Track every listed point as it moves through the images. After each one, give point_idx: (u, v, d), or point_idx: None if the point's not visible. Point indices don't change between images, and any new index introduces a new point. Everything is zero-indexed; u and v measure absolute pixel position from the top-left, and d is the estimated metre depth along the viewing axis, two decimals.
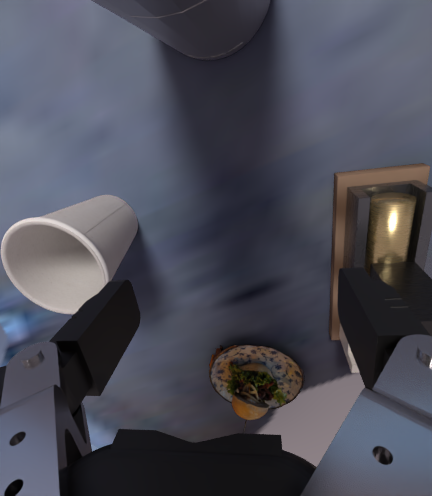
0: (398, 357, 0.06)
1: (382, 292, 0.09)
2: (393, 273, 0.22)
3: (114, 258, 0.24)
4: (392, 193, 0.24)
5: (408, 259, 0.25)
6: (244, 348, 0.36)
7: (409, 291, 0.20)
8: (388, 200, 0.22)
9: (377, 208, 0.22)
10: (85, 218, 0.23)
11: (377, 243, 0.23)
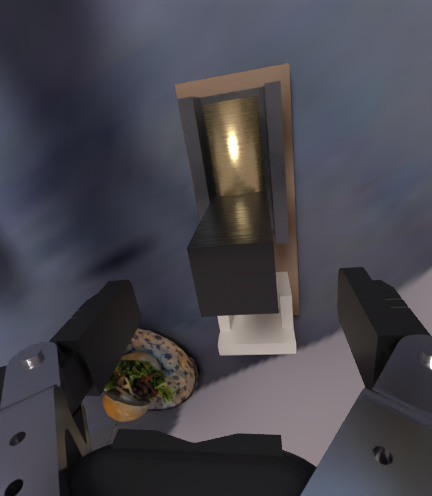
0: (398, 357, 0.06)
1: (382, 292, 0.09)
2: (227, 203, 0.16)
3: None
4: None
5: None
6: None
7: (226, 217, 0.14)
8: None
9: (206, 113, 0.16)
10: None
11: (216, 167, 0.17)
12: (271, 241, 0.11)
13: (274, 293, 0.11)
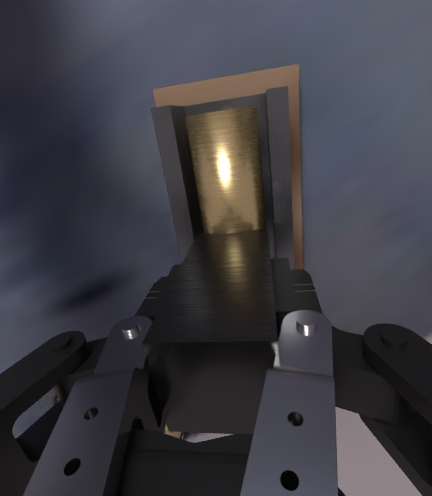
0: (285, 334, 0.07)
1: (299, 279, 0.10)
2: (215, 247, 0.12)
3: None
4: None
5: (274, 231, 0.14)
6: None
7: (210, 276, 0.10)
8: None
9: (188, 127, 0.12)
10: None
11: (202, 196, 0.13)
12: (274, 340, 0.07)
13: None
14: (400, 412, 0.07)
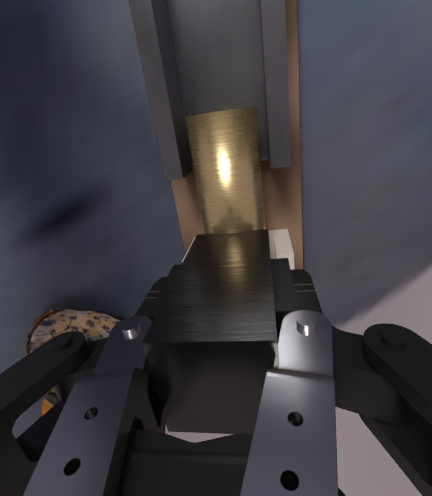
0: (285, 334, 0.07)
1: (299, 279, 0.10)
2: (215, 247, 0.12)
3: None
4: None
5: (265, 93, 0.12)
6: (75, 318, 0.23)
7: (210, 276, 0.10)
8: None
9: (188, 127, 0.12)
10: None
11: (202, 197, 0.13)
12: (274, 340, 0.07)
13: None
14: (400, 412, 0.07)
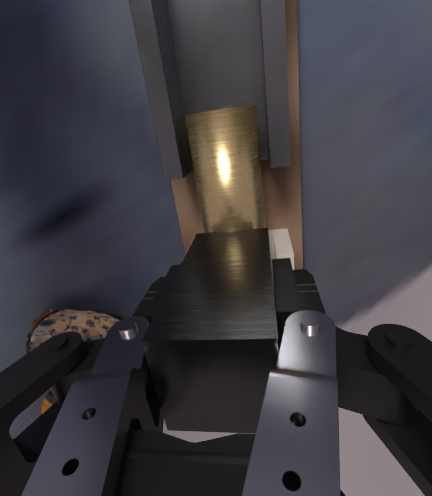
0: (288, 334, 0.07)
1: (301, 279, 0.10)
2: (214, 246, 0.12)
3: None
4: None
5: (265, 92, 0.12)
6: (74, 317, 0.23)
7: (210, 275, 0.10)
8: None
9: (188, 126, 0.12)
10: None
11: (202, 195, 0.13)
12: (274, 338, 0.07)
13: None
14: (404, 413, 0.07)
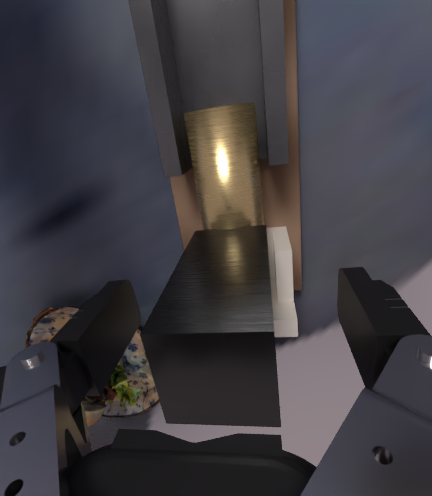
0: (398, 357, 0.06)
1: (382, 292, 0.09)
2: (213, 243, 0.12)
3: None
4: None
5: None
6: None
7: (208, 270, 0.10)
8: None
9: (187, 124, 0.12)
10: None
11: (201, 193, 0.13)
12: (271, 331, 0.07)
13: (274, 401, 0.07)
14: None
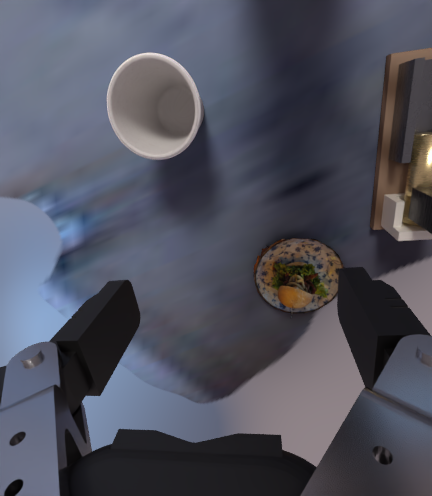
0: (398, 357, 0.06)
1: (382, 292, 0.09)
2: None
3: None
4: (429, 132, 0.30)
5: None
6: (289, 245, 0.39)
7: None
8: (428, 134, 0.29)
9: (419, 140, 0.29)
10: None
11: (418, 170, 0.29)
12: None
13: None
14: None
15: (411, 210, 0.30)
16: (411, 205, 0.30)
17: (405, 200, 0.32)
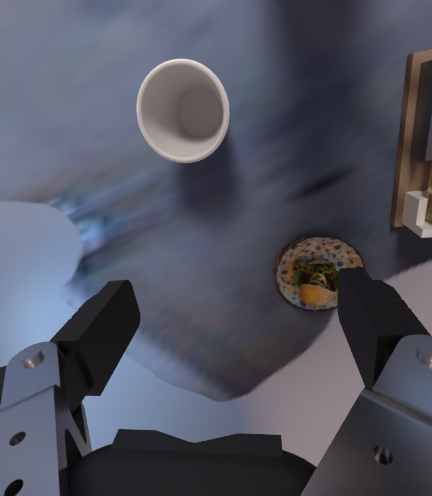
0: (398, 357, 0.06)
1: (382, 292, 0.09)
2: None
3: None
4: None
5: None
6: (309, 244, 0.39)
7: None
8: None
9: None
10: None
11: None
12: None
13: None
14: None
15: None
16: None
17: (428, 197, 0.32)
